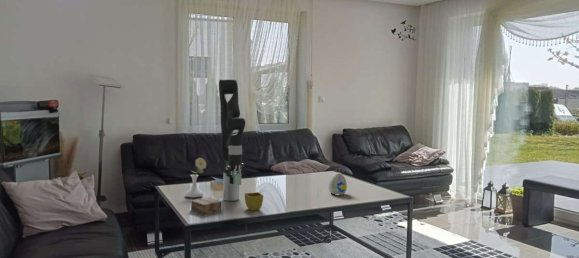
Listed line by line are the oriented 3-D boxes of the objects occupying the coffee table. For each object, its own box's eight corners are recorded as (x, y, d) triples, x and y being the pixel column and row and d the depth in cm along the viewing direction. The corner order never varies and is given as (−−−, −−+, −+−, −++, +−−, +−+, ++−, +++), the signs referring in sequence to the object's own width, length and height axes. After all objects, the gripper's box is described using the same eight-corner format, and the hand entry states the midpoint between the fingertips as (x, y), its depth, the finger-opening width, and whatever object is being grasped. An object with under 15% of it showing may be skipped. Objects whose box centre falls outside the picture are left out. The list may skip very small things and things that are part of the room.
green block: (234, 183, 249) (234, 172, 248) (241, 184, 246) (241, 174, 245) (228, 184, 245) (228, 174, 244) (235, 186, 242) (235, 175, 241)
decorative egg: (334, 197, 288) (335, 174, 287) (324, 193, 299) (325, 171, 298) (349, 195, 294) (350, 173, 292) (339, 191, 305) (340, 170, 303)
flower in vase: (187, 199, 270) (187, 159, 268) (183, 195, 281) (183, 156, 278) (207, 197, 276) (208, 158, 274) (203, 193, 286) (203, 156, 284)
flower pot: (248, 212, 246) (249, 196, 246) (243, 208, 254) (244, 193, 254) (263, 210, 250) (263, 195, 249) (257, 207, 258) (258, 192, 257)
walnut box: (208, 207, 255) (208, 197, 255) (221, 211, 247) (221, 201, 246) (191, 210, 247) (191, 200, 246) (203, 215, 238) (203, 204, 238)
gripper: (239, 151, 251) (238, 180, 253) (221, 153, 240) (221, 184, 241) (248, 152, 247) (248, 182, 249) (231, 155, 235) (230, 186, 237)
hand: (234, 182), depth 245 cm, fingers closed on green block, 5 cm apart
